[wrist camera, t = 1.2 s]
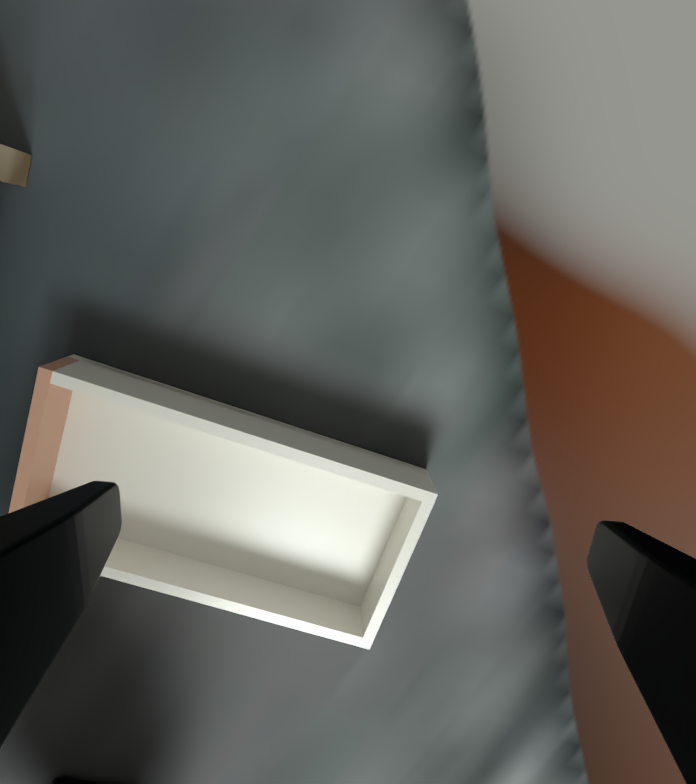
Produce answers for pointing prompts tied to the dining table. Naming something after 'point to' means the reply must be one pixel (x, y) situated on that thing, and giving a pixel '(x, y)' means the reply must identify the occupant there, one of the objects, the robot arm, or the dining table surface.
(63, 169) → the dining table surface
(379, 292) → the dining table surface
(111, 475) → the shell lid
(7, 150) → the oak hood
